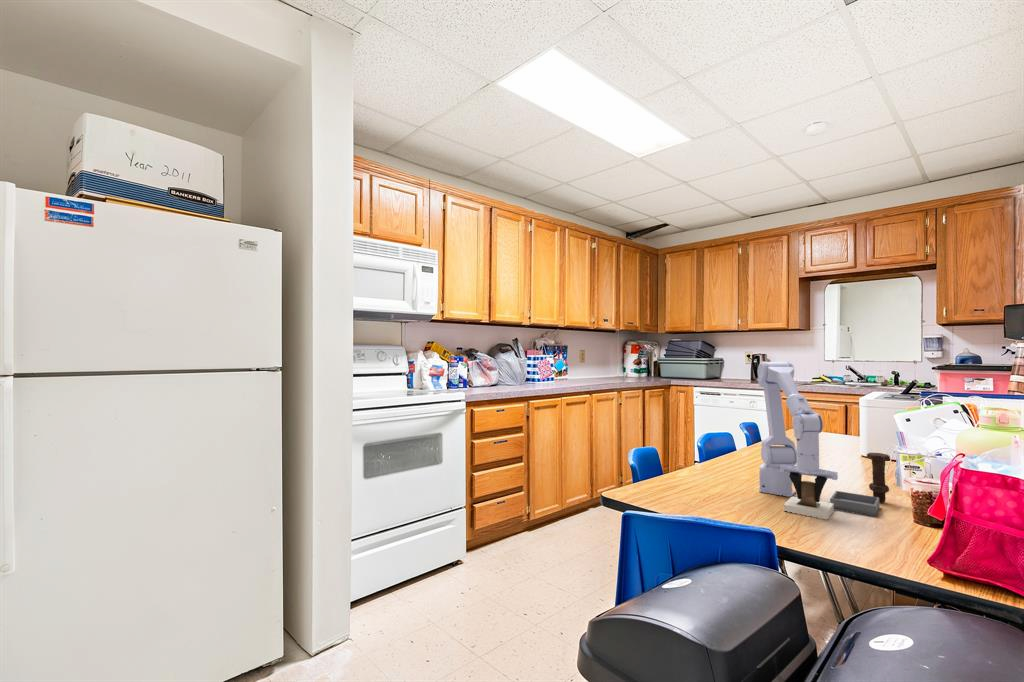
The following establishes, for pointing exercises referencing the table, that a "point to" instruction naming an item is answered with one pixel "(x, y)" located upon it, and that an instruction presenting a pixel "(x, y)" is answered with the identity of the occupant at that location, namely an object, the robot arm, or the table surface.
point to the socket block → (809, 508)
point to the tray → (855, 503)
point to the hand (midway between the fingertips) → (808, 499)
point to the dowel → (808, 494)
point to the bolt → (878, 475)
